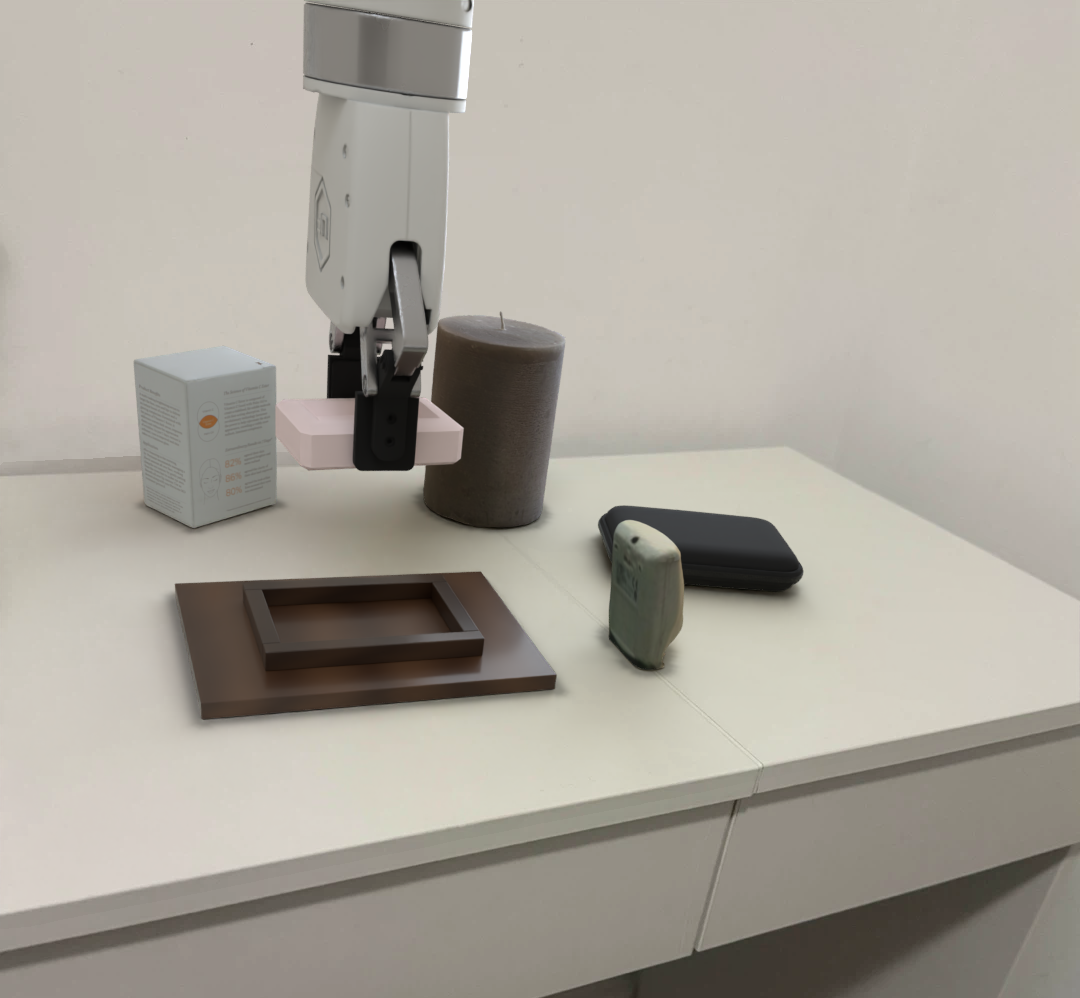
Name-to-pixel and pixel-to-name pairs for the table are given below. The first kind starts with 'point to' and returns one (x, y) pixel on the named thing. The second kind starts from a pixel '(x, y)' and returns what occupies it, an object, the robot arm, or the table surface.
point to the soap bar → (328, 429)
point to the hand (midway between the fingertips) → (368, 444)
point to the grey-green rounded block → (645, 594)
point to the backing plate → (352, 642)
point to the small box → (207, 433)
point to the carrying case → (716, 547)
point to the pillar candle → (495, 418)
